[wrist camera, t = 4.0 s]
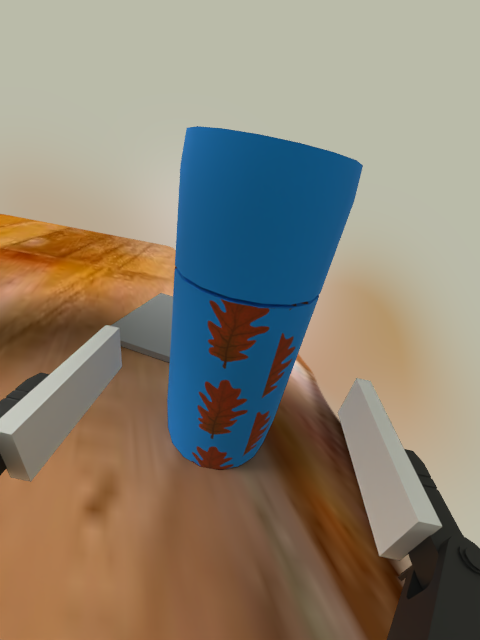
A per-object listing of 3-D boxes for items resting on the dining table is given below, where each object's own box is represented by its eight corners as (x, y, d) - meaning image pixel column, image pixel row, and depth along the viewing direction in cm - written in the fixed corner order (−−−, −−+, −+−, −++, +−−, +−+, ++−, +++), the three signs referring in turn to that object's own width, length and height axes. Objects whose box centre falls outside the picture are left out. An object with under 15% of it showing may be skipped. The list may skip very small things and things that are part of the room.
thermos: (191, 375, 33) (218, 146, 21) (272, 400, 32) (350, 172, 20) (145, 449, 24) (143, 112, 11) (256, 489, 22) (388, 158, 10)
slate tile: (99, 338, 36) (99, 333, 35) (160, 297, 50) (160, 293, 49) (205, 375, 33) (206, 369, 33) (238, 321, 47) (239, 316, 47)
